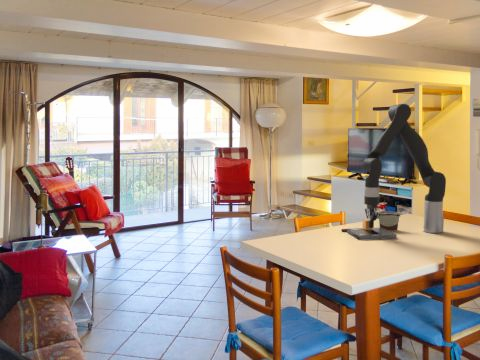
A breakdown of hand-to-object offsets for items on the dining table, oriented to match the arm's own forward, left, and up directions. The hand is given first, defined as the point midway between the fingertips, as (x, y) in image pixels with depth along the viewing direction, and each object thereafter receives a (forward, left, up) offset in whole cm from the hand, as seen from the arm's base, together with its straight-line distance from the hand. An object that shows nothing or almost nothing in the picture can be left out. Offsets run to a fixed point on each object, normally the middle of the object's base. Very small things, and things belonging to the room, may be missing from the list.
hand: (371, 227), depth 252 cm
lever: (0, -4, -4) cm, 6 cm away
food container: (-15, -12, -4) cm, 20 cm away
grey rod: (+7, -10, -4) cm, 13 cm away
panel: (0, +1, -4) cm, 4 cm away
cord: (+10, +1, -4) cm, 11 cm away
